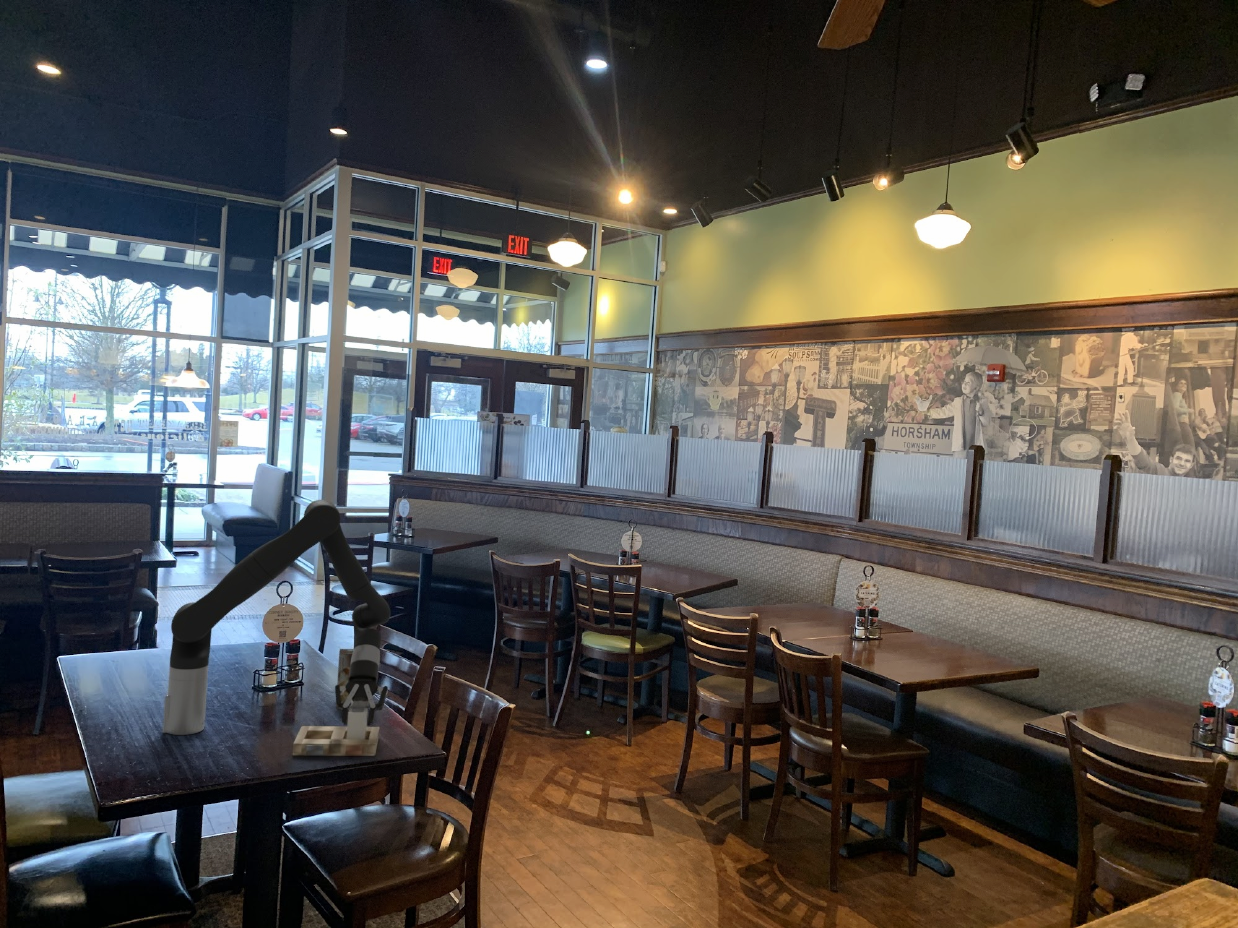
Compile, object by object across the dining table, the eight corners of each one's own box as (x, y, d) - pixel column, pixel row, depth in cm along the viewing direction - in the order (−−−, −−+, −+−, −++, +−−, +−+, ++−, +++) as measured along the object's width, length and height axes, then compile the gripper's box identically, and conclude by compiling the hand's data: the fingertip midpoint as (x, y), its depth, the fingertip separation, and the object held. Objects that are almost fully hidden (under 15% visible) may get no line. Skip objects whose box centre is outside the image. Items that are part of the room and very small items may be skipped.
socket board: (292, 755, 217) (293, 744, 217) (301, 737, 231) (301, 725, 231) (374, 756, 221) (375, 744, 221) (378, 737, 235) (379, 726, 234)
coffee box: (367, 700, 265) (371, 648, 265) (367, 707, 259) (371, 653, 259) (336, 700, 263) (339, 648, 262) (335, 707, 257) (338, 653, 256)
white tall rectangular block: (345, 747, 225) (348, 710, 224) (347, 741, 229) (350, 705, 229) (363, 747, 225) (366, 710, 225) (365, 741, 230) (368, 705, 230)
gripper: (336, 657, 233) (327, 716, 221) (391, 659, 235) (385, 717, 224) (337, 671, 238) (328, 729, 226) (391, 673, 241) (385, 730, 229)
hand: (357, 723), depth 225 cm, fingers open, 5 cm apart
